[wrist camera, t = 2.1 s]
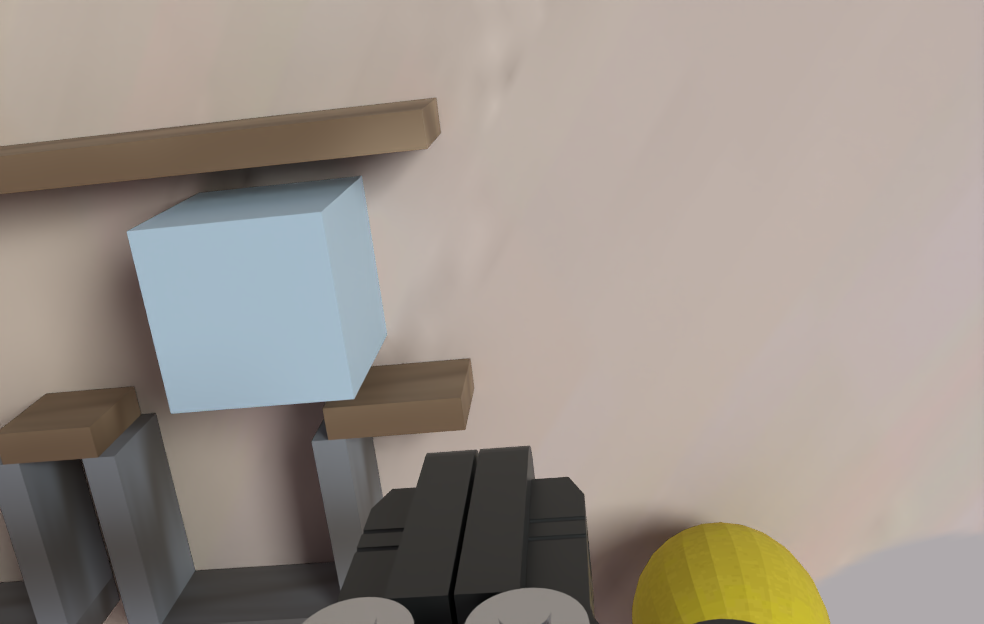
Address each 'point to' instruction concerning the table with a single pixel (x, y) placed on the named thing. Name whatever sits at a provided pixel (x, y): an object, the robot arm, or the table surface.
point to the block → (262, 295)
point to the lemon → (725, 580)
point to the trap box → (137, 438)
